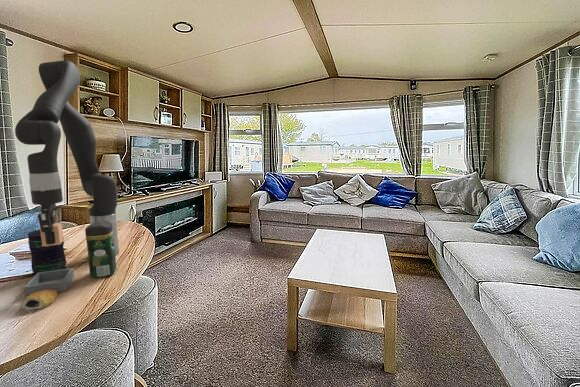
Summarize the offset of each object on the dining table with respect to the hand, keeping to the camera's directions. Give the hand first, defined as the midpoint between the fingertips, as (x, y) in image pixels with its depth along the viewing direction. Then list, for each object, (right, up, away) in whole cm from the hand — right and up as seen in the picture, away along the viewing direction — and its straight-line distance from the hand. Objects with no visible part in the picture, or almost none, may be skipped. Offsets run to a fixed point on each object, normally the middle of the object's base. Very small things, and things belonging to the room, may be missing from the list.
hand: (53, 241), depth 99 cm
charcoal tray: (-2, -15, +2) cm, 15 cm away
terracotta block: (0, -1, 0) cm, 1 cm away
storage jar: (-12, -13, +14) cm, 23 cm away
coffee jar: (+8, -14, +13) cm, 20 cm away
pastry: (+3, -17, -9) cm, 19 cm away
